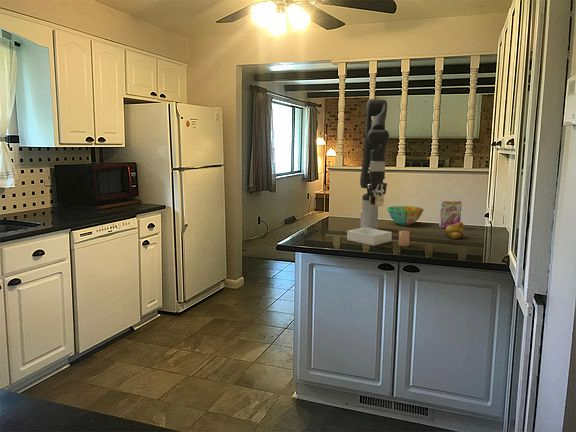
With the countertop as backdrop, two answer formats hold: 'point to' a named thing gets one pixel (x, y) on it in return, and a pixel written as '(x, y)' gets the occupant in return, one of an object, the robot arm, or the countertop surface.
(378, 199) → the birch cube
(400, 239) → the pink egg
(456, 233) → the bread roll
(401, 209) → the bowl
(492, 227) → the countertop surface
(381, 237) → the tote
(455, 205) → the candy bar box
